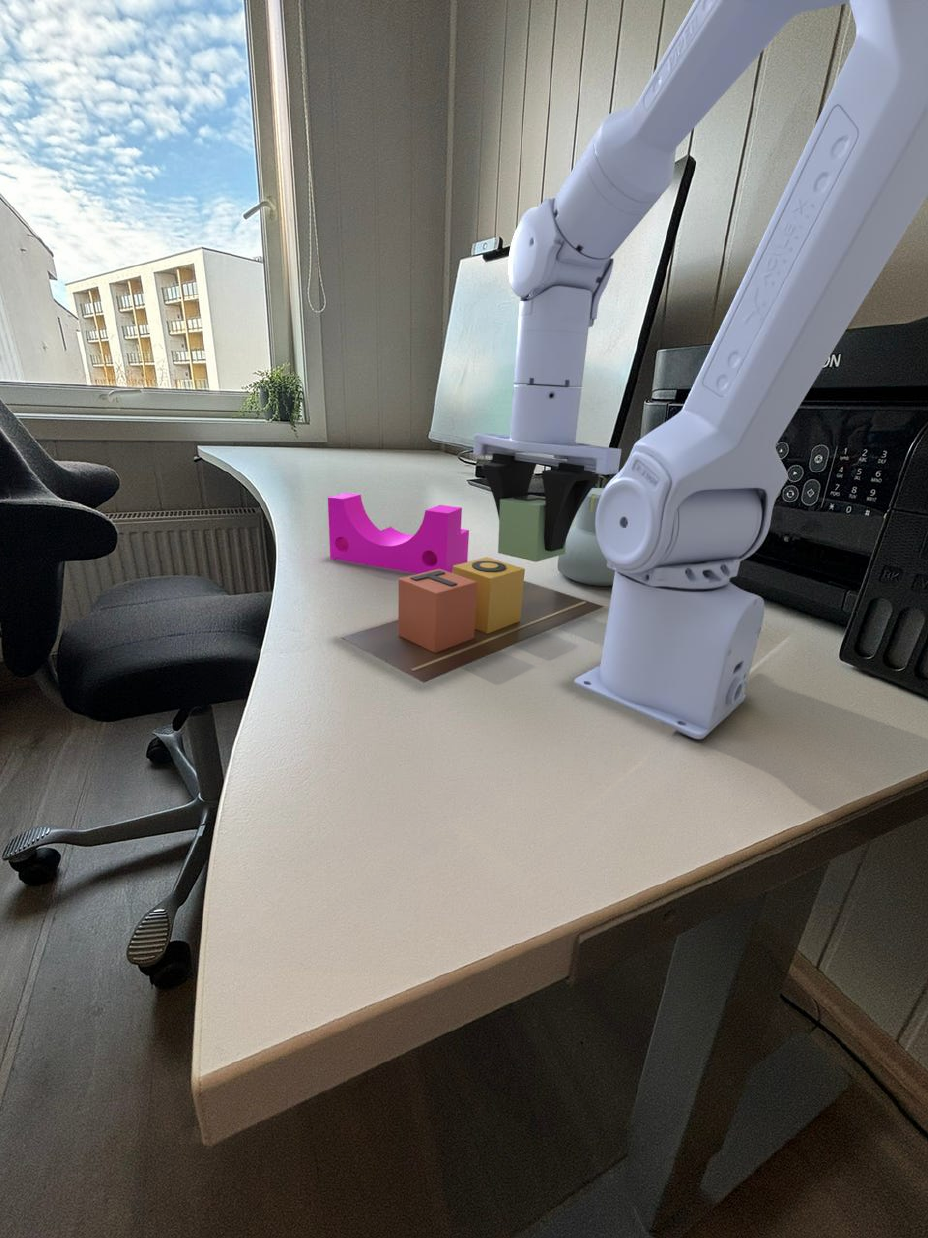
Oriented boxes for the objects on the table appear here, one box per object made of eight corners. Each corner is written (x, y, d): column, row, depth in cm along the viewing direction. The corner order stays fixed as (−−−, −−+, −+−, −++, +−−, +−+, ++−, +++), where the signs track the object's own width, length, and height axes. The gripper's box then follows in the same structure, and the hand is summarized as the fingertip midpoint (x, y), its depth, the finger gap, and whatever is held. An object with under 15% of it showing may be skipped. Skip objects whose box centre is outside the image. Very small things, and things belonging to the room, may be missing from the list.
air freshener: (563, 562, 71) (572, 482, 67) (630, 570, 69) (644, 488, 66) (553, 589, 61) (564, 496, 58) (632, 599, 59) (648, 504, 56)
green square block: (565, 554, 53) (569, 499, 51) (536, 562, 50) (539, 503, 48) (527, 546, 56) (530, 493, 54) (497, 553, 53) (499, 497, 51)
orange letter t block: (474, 638, 47) (478, 580, 45) (434, 653, 44) (437, 591, 42) (437, 622, 50) (439, 566, 48) (397, 635, 47) (398, 576, 45)
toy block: (467, 567, 67) (470, 504, 65) (445, 581, 62) (448, 513, 59) (358, 549, 72) (357, 489, 70) (330, 560, 67) (327, 497, 64)
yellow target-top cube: (520, 621, 51) (525, 566, 49) (487, 634, 48) (491, 576, 46) (483, 607, 54) (487, 555, 52) (450, 618, 51) (452, 563, 49)
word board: (603, 609, 56) (603, 605, 56) (423, 686, 40) (423, 681, 40) (524, 584, 62) (524, 580, 62) (341, 641, 46) (341, 636, 46)
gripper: (649, 391, 46) (623, 553, 51) (511, 385, 55) (501, 523, 60) (603, 387, 41) (579, 567, 46) (460, 382, 50) (454, 532, 55)
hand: (532, 543), depth 53 cm, fingers closed on green square block, 4 cm apart
